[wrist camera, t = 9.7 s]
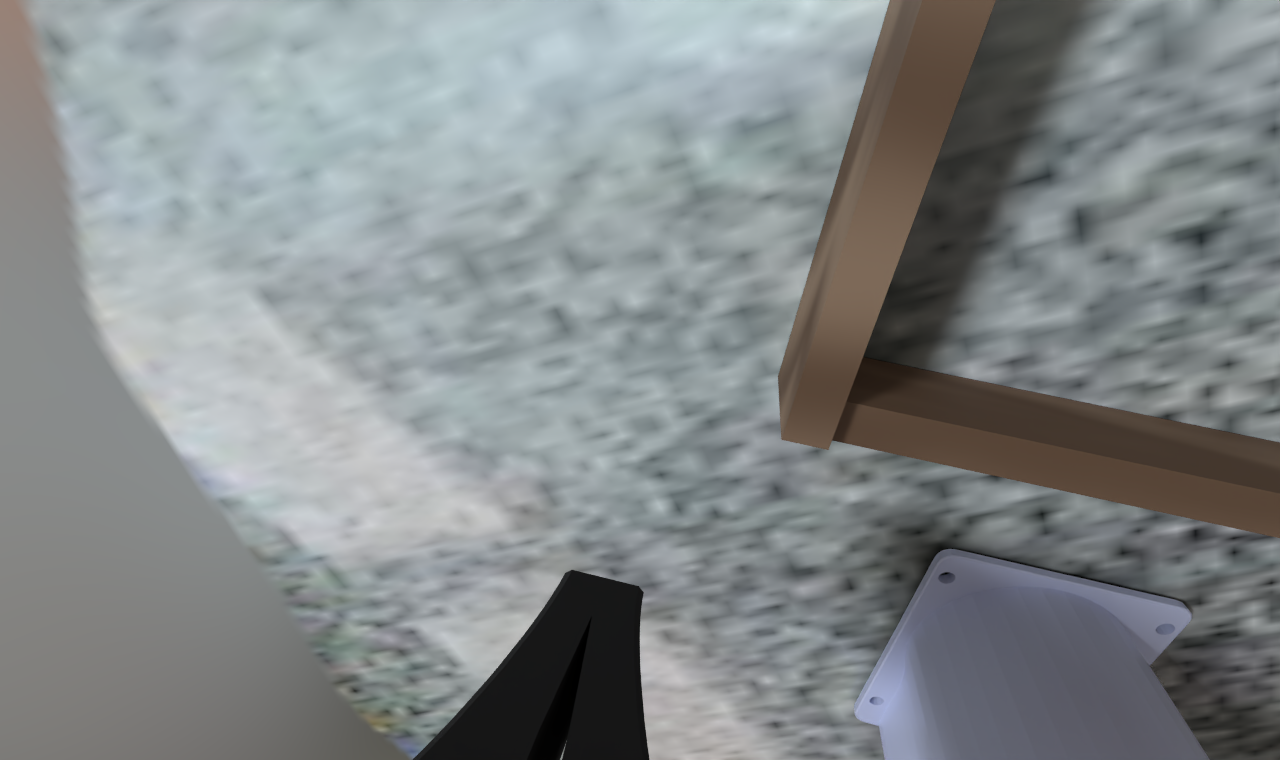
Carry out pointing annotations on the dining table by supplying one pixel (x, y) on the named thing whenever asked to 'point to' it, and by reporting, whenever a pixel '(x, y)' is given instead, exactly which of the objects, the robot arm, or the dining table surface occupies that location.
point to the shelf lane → (954, 406)
